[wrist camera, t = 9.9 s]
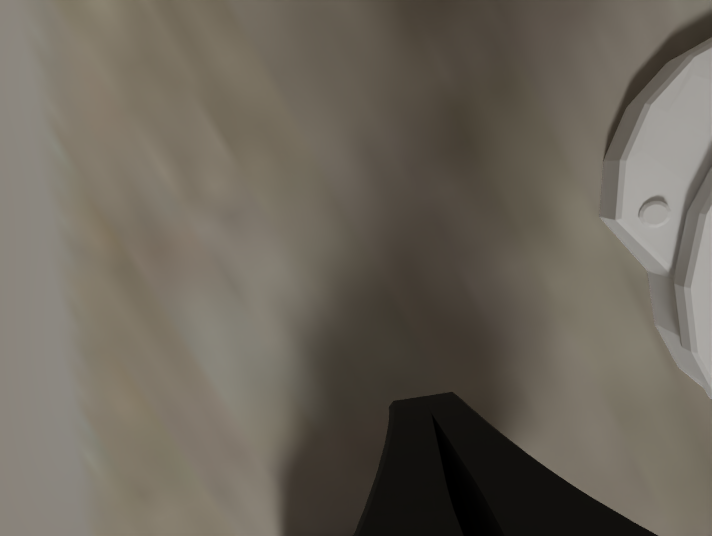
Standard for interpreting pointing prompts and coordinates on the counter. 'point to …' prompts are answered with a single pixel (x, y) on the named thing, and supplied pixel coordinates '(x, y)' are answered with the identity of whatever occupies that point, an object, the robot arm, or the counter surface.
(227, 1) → the counter surface
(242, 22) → the counter surface
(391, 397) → the counter surface
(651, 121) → the lid
